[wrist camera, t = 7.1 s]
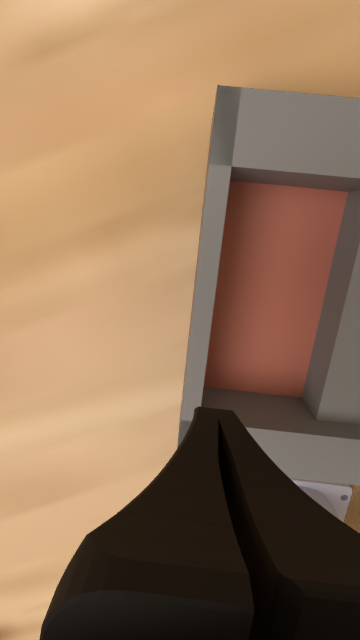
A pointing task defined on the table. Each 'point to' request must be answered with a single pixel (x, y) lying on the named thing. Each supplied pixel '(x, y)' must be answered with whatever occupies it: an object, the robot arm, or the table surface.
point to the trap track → (281, 279)
